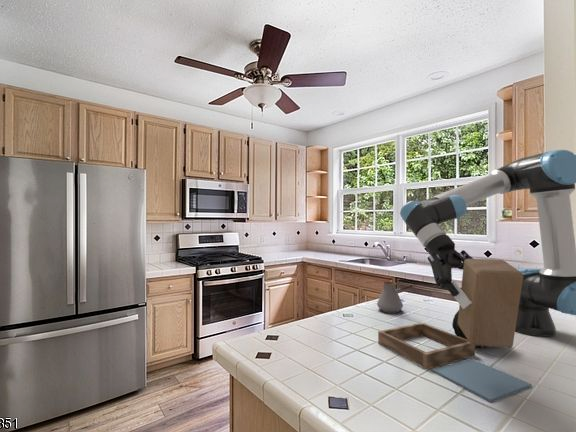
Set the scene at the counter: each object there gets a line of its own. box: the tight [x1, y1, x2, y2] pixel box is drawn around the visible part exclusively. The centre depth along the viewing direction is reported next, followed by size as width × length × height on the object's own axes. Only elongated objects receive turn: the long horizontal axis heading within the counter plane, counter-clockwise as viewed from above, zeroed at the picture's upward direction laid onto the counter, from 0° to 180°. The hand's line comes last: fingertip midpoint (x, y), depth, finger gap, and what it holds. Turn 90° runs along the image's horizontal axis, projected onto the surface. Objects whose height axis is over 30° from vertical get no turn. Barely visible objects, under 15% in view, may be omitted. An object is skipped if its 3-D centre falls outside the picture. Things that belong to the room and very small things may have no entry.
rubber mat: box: [432, 357, 533, 403], centre depth 81 cm, size 16×16×1 cm
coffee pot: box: [376, 281, 418, 314], centre depth 139 cm, size 21×12×15 cm, turn 24°
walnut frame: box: [377, 322, 476, 370], centre depth 101 cm, size 20×20×4 cm
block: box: [458, 258, 523, 349], centre depth 79 cm, size 10×10×20 cm
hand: (485, 303), depth 80 cm, fingers closed on block, 13 cm apart
